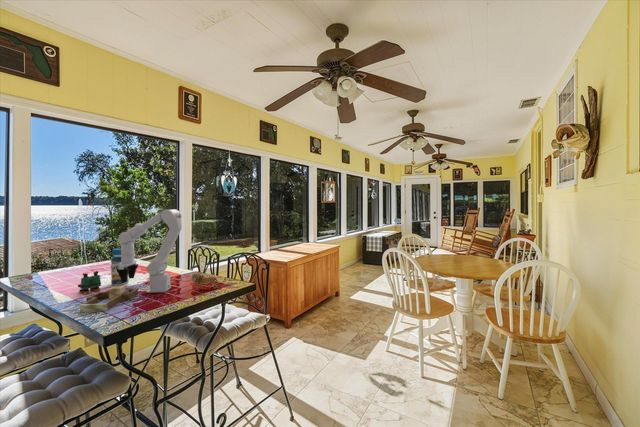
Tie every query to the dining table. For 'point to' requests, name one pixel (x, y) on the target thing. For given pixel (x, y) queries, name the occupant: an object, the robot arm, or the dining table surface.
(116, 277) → the beverage bottle
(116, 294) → the beech block
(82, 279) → the green toy train
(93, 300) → the trap lane
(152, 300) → the dining table surface
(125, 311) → the dining table surface
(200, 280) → the lion figurine
